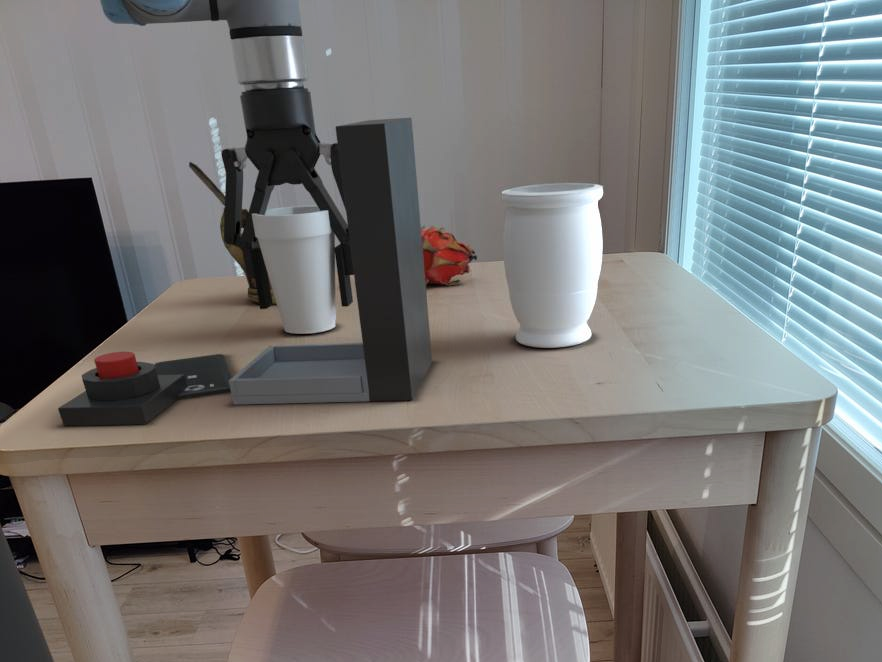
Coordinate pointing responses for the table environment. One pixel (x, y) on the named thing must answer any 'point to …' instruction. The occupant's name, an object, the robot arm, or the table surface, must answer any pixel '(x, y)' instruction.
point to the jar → (552, 260)
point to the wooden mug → (232, 249)
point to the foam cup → (300, 265)
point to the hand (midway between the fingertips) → (306, 305)
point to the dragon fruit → (444, 256)
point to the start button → (116, 364)
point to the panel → (122, 398)
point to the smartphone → (199, 375)
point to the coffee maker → (364, 287)
